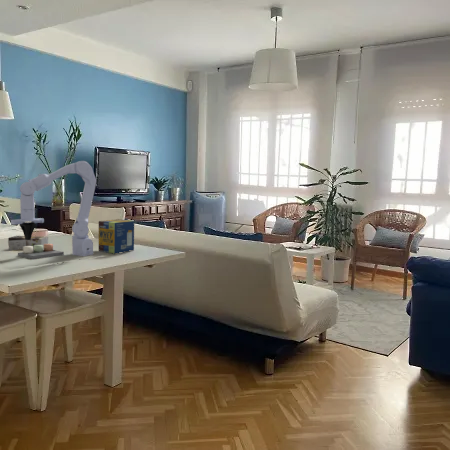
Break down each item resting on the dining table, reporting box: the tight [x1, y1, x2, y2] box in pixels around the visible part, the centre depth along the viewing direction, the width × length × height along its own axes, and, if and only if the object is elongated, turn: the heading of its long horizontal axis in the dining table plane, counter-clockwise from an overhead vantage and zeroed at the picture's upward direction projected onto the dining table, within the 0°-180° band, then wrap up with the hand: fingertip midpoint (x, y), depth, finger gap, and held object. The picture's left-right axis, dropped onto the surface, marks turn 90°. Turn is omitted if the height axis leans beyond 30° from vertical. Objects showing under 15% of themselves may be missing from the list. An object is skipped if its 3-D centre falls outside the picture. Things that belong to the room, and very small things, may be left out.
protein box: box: [98, 218, 135, 255], centre depth 228 cm, size 10×15×16 cm
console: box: [17, 249, 65, 260], centre depth 205 cm, size 12×15×2 cm
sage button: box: [33, 245, 44, 253], centre depth 206 cm, size 4×4×3 cm
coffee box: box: [7, 235, 49, 251], centre depth 225 cm, size 9×6×16 cm
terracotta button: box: [43, 243, 54, 251], centre depth 210 cm, size 4×4×3 cm
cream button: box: [22, 246, 34, 254], centre depth 202 cm, size 4×4×3 cm
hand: (28, 239), depth 202 cm, fingers closed
